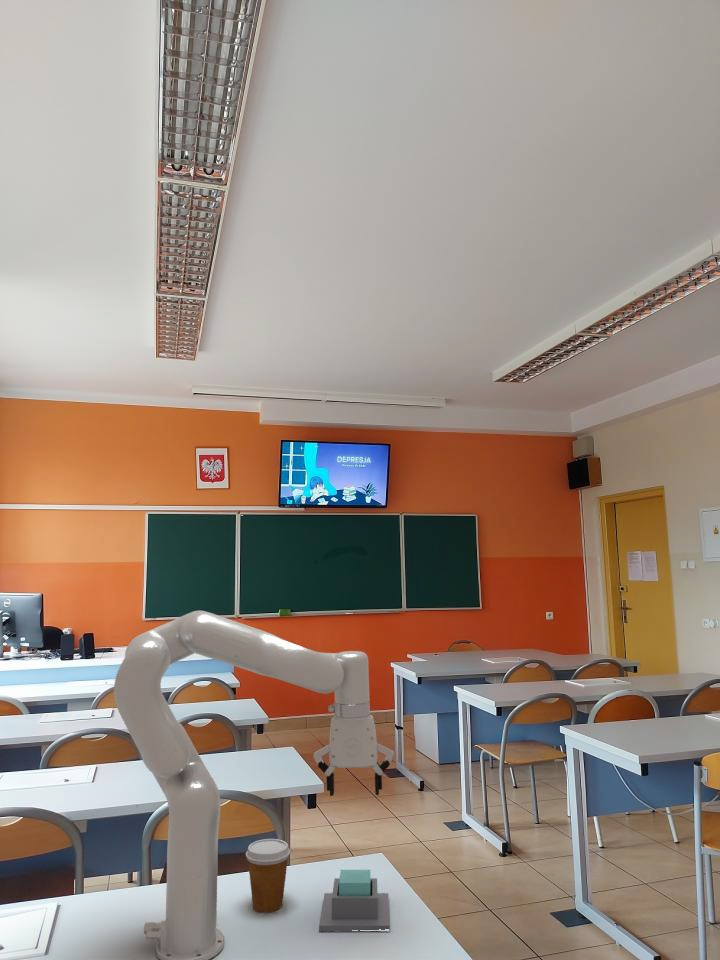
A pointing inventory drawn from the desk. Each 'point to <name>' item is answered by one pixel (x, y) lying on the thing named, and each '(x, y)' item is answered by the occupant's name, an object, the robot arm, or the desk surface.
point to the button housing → (354, 910)
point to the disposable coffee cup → (267, 873)
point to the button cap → (355, 883)
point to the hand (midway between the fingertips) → (354, 793)
